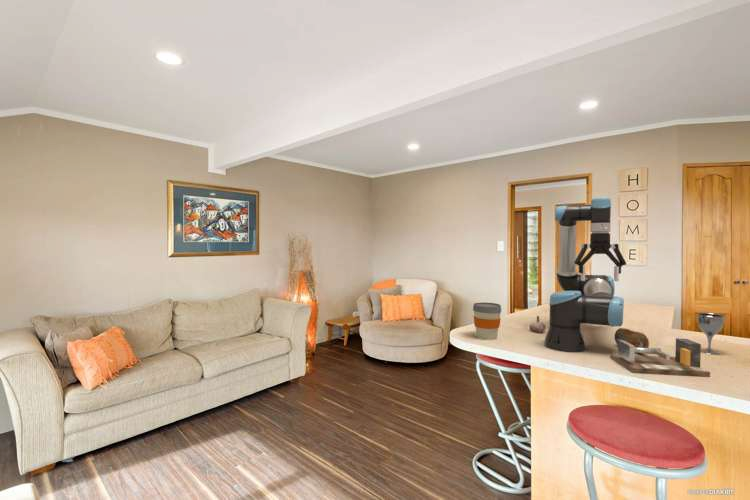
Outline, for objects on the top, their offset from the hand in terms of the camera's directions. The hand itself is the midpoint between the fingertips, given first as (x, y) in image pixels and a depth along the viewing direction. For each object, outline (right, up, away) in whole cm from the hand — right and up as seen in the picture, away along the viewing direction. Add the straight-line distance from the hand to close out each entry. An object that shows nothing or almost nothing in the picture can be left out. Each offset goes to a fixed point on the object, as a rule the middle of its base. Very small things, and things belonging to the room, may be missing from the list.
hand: (599, 281), depth 163 cm
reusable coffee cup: (-48, -27, +7) cm, 55 cm away
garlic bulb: (-20, -27, +18) cm, 38 cm away
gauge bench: (+1, -28, -33) cm, 43 cm away
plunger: (-5, -25, -34) cm, 42 cm away
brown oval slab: (+5, -27, -13) cm, 31 cm away
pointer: (+5, -25, -39) cm, 47 cm away
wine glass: (+35, -27, -15) cm, 47 cm away
